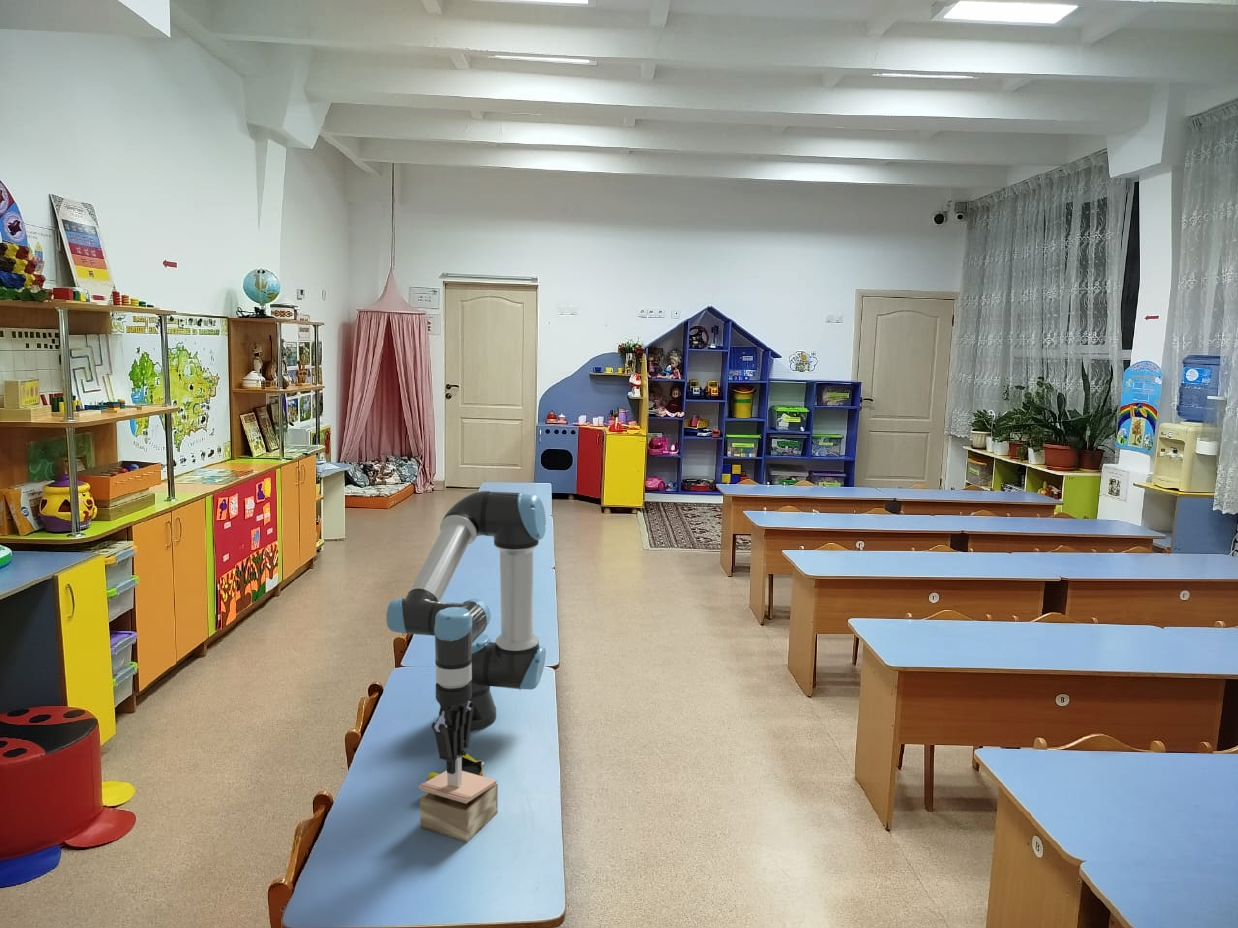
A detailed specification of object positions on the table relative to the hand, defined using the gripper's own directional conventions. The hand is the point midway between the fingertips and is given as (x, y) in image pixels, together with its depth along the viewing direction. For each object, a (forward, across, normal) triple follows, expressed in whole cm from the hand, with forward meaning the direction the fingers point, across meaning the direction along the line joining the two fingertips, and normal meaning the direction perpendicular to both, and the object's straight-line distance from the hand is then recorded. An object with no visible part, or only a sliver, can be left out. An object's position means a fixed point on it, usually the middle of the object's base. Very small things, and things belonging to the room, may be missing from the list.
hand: (454, 784), depth 179 cm
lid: (+1, -2, 0) cm, 2 cm away
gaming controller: (+10, -14, -9) cm, 20 cm away
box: (+10, -2, 0) cm, 10 cm away
